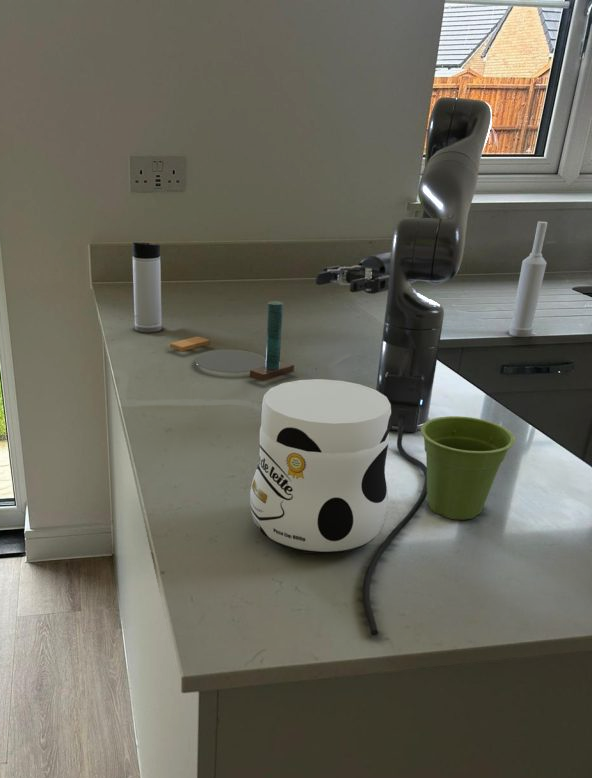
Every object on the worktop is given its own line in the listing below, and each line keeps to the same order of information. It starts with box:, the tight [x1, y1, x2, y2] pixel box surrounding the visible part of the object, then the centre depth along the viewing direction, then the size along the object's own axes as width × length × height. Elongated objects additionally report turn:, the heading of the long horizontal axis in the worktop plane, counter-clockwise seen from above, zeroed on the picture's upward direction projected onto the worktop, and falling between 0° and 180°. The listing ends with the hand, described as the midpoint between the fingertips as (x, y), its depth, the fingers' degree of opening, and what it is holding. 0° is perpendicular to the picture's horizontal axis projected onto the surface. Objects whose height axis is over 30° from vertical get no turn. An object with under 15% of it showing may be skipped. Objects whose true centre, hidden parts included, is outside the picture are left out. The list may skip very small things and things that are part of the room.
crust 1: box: [169, 339, 197, 352], centre depth 169 cm, size 4×4×2 cm
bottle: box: [508, 221, 548, 338], centre depth 178 cm, size 5×5×25 cm
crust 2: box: [184, 335, 211, 348], centre depth 171 cm, size 4×4×2 cm
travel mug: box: [132, 241, 163, 334], centre depth 180 cm, size 6×7×20 cm
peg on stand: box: [249, 300, 295, 382], centre depth 150 cm, size 9×4×15 cm, turn 133°
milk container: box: [249, 378, 391, 555], centre depth 98 cm, size 17×17×18 cm
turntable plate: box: [194, 349, 266, 373], centre depth 161 cm, size 15×15×1 cm
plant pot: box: [420, 415, 516, 521], centre depth 105 cm, size 12×12×11 cm
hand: (334, 283), depth 153 cm, fingers open, 8 cm apart
